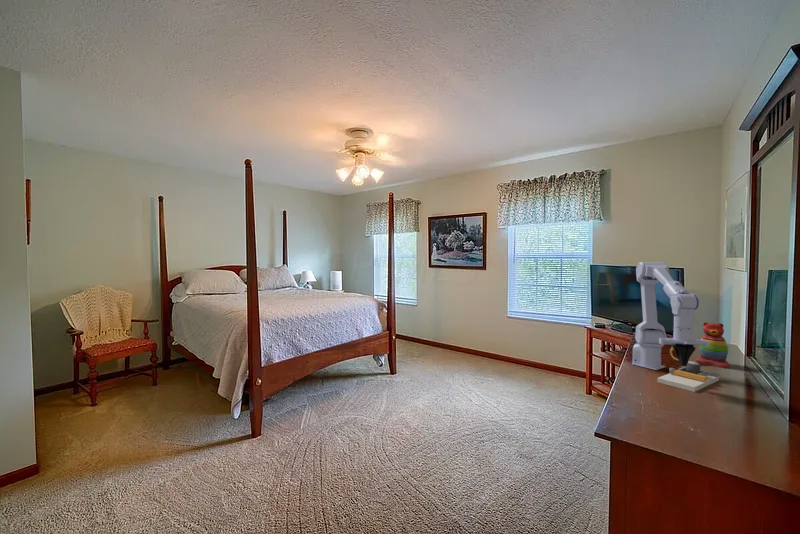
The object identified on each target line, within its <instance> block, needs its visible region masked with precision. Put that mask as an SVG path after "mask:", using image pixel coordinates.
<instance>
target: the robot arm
mask: <svg viewBox="0 0 800 534" xmlns="http://www.w3.org/2000/svg"><path fill="white" fill-rule="evenodd" d="M669 267H670V266H669V265H668V264H667V262H666V261H661V262H660V261H659V262H658V261H657V262H656V261H655V262H654V261H650V262H649V261H648V262H647V261H646V262H645V261H644V262H643V261H639V262H638V263H637V265H636V268H635V276H636V281H637V282H638V283H639V284H640V294H641V307H642V308H641V309H642V322H640V323H639V324H637V325H636V326H635V332H634V337H635V342H636V343H635V344H634V345H633V347H632V361H631V362H632V363H631V365H633V366H637V367H641V368H646V369H650V370H655V371H658V370H661V369H664V368H666V366H665V365H662V348H663V347H664V345H670V346H671V347H673V348H674V349H673V351H674V352H675V354H676V358H677V359H678V364H679V365H680V367H681V366H687V363H688V362H689V361H690V358H691V356H692V355H693V354H694V352H695V351H696V347H699V346H705V347H709V341H706V340H701V339H698V338H697V339H695V315H696V314H695V313H696V312H695V311H696V310H698V308H699V307H700V299H699V297H698V295H697V294H696V293H692V292H689V291H688V290H687V289H686V288H685V287H684V286H683V284H682V283H681V282H680V281H677V280H674V279H673V277H672V276H671V274H670V273H669V272H670V268H669ZM657 283H658V284H659V283H660V284H661V285H663V287H662V289H663V291H664V293H665V294H666V295H667V296H668V298H669V299H670V300H669V301H670V307H671V312H672V314H673V333H672V334H673V335H672V336H673V337H668V336H667V334H666V330H665V329H666V328H665V327H664V325H662V324H661V323H660V322H658V310H657V298H656V297H657V296H656V284H657Z"/></svg>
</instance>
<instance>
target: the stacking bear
mask: <svg viewBox="0 0 800 534" xmlns="http://www.w3.org/2000/svg"><path fill="white" fill-rule="evenodd" d="M702 327H703V328H702V331H703V333H704V335H702V337H701V338H700V340H706V341H709V347H705V346H698V350H699V354H700V356H699V357H697V358H696V360H695V362H696V363H699V364H700V365H702V366H703V365H704V366H712V367H717V368H721V369H730V368H731V366H730V363H729V362H728V361H727V357H728V352H729V347H728V344H727V340H726V338H724V337H723V335H724V333H725V329H724V324H723V323H716V322H707V321H706V322H703V326H702Z"/></svg>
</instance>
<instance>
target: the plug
mask: <svg viewBox="0 0 800 534" xmlns="http://www.w3.org/2000/svg"><path fill="white" fill-rule="evenodd" d="M701 365H702V364H699V363H696V361H690V360H688V363H687V366H686V372H688V373H693V374H697V375H698V373H700V369H701Z"/></svg>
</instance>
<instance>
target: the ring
mask: <svg viewBox="0 0 800 534" xmlns="http://www.w3.org/2000/svg"><path fill="white" fill-rule="evenodd" d="M673 351H674V348H673V347H672V346H671V347H670V349H669V354H670V356H671V358H672V359H673V360H675V361H678V357H675V356H674V355H673ZM678 362H679V361H678Z"/></svg>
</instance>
